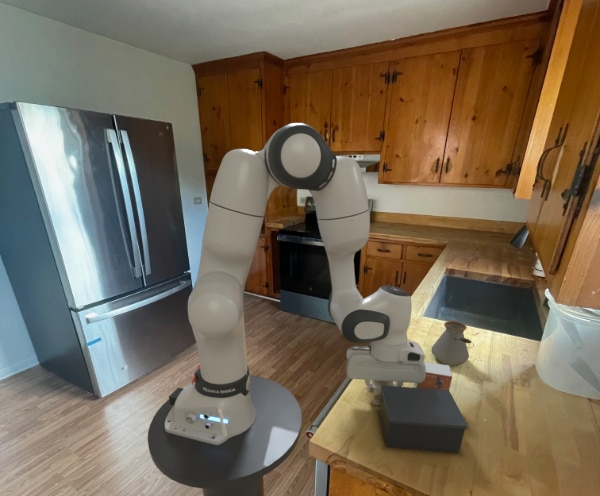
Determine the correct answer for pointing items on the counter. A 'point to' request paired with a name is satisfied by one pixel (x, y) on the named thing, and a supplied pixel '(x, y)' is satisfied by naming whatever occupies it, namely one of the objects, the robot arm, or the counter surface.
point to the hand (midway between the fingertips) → (382, 392)
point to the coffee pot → (452, 345)
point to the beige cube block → (379, 390)
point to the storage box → (421, 419)
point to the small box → (436, 377)
